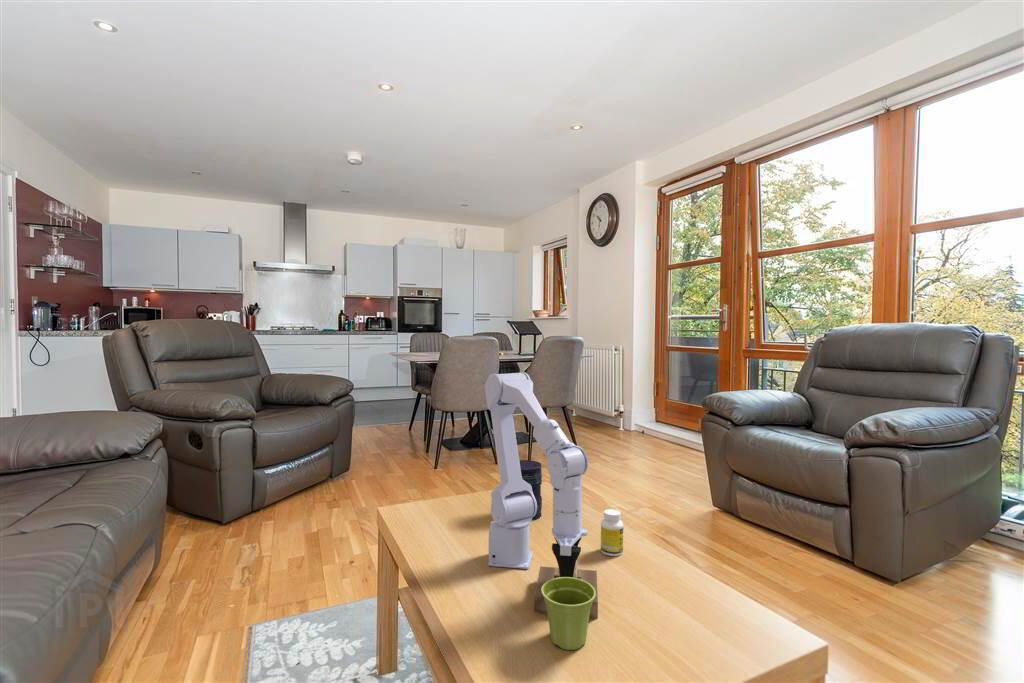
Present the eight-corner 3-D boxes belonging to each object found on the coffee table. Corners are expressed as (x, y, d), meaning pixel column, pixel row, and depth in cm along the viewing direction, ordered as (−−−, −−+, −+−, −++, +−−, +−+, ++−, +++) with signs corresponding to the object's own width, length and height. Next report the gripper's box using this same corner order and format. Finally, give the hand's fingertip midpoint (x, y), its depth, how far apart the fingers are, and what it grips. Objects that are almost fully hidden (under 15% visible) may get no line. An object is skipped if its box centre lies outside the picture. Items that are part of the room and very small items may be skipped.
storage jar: (505, 520, 135) (505, 468, 135) (510, 508, 145) (510, 459, 145) (540, 522, 134) (540, 470, 134) (543, 509, 144) (543, 460, 143)
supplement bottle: (623, 558, 113) (623, 517, 112) (600, 555, 114) (600, 515, 114) (622, 547, 118) (623, 508, 118) (600, 546, 119) (600, 507, 119)
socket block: (534, 612, 91) (534, 596, 91) (540, 580, 103) (540, 566, 102) (597, 618, 89) (597, 602, 89) (596, 584, 101) (596, 570, 101)
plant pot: (537, 624, 87) (537, 577, 87) (588, 621, 88) (588, 575, 88) (545, 659, 78) (545, 606, 78) (601, 655, 78) (602, 604, 78)
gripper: (587, 523, 88) (587, 596, 88) (587, 496, 102) (587, 559, 102) (549, 521, 89) (549, 593, 89) (554, 495, 103) (554, 557, 103)
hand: (567, 574), depth 96 cm, fingers closed on pin, 4 cm apart
